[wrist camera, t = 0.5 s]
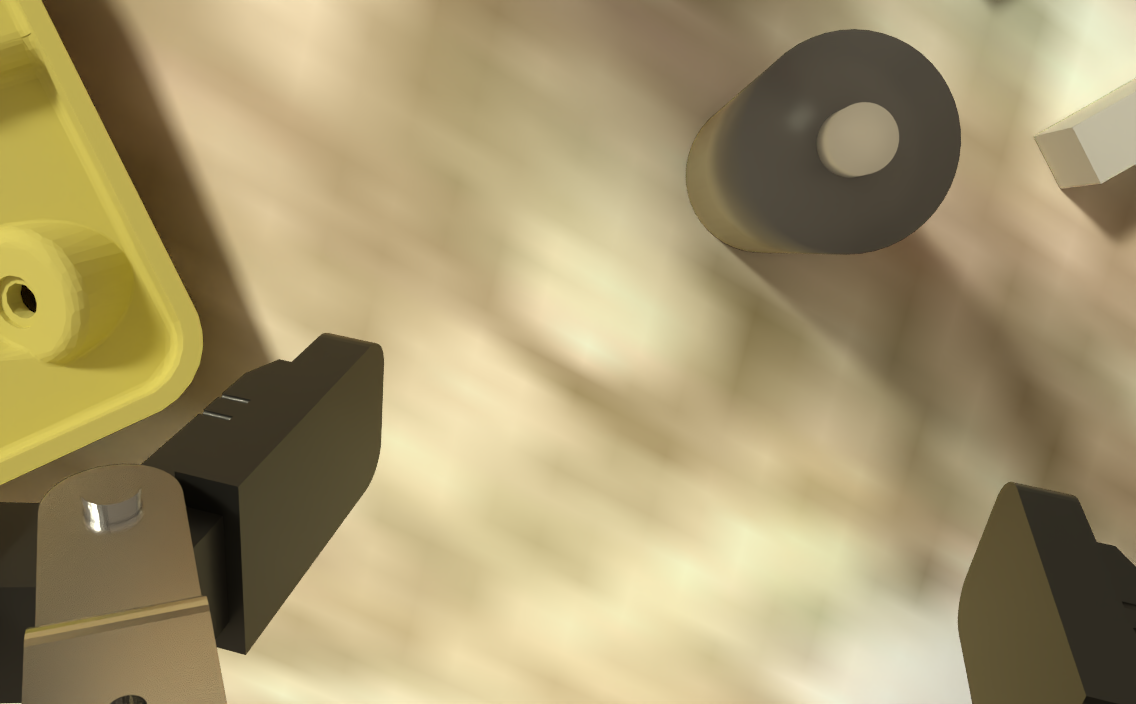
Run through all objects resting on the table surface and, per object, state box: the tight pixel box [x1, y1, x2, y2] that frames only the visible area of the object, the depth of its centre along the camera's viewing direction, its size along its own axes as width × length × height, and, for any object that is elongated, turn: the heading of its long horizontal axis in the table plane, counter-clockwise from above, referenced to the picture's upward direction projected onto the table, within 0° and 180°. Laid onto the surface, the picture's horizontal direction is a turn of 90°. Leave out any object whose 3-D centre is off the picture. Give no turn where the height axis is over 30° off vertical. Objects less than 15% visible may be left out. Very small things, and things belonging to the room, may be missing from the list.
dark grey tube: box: [686, 29, 961, 254], centre depth 27 cm, size 5×5×11 cm
